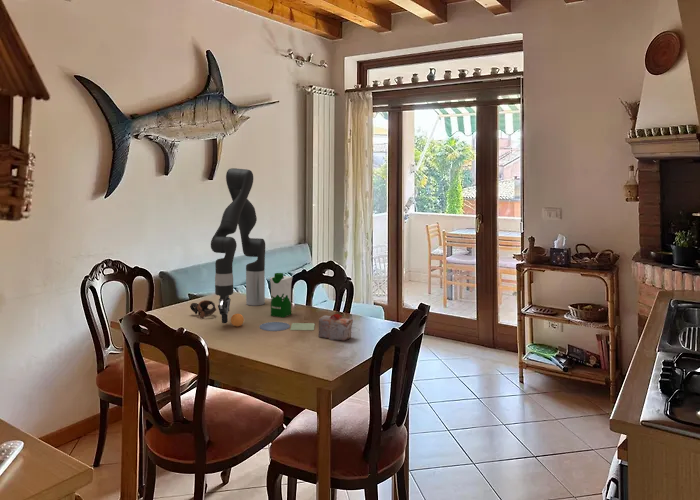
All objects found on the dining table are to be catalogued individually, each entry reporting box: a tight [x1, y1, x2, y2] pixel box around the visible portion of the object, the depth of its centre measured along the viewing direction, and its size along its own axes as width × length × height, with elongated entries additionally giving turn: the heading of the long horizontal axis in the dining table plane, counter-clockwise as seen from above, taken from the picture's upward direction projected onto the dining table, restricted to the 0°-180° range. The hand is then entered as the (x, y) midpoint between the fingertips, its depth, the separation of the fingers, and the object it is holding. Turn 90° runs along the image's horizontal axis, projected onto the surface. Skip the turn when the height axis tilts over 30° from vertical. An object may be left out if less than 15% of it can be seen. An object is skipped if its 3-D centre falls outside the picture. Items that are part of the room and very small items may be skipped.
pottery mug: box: [189, 299, 217, 319], centre depth 235 cm, size 12×10×8 cm
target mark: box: [258, 321, 291, 332], centre depth 221 cm, size 13×13×1 cm
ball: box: [230, 313, 245, 327], centre depth 220 cm, size 6×6×6 cm
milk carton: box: [269, 272, 293, 319], centre depth 239 cm, size 9×9×20 cm
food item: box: [317, 313, 354, 341], centre depth 207 cm, size 14×8×10 cm, turn 67°
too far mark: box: [289, 322, 316, 331], centre depth 222 cm, size 10×10×1 cm
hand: (224, 322), depth 220 cm, fingers closed
